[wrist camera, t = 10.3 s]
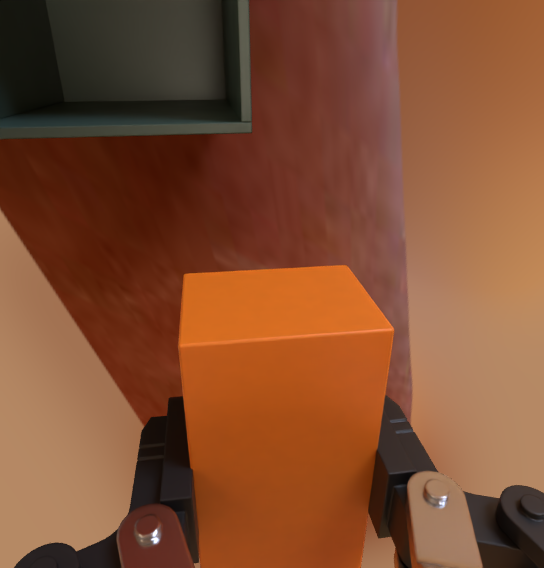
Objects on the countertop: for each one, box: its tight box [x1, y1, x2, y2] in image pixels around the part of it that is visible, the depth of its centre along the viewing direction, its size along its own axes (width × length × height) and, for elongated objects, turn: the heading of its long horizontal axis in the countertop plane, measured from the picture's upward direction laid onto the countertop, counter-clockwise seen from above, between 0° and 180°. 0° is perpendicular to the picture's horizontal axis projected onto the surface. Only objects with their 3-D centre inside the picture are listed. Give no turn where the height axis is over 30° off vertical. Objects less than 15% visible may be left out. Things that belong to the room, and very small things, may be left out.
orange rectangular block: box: [178, 265, 394, 568], centre depth 13 cm, size 4×9×4 cm, turn 0°
